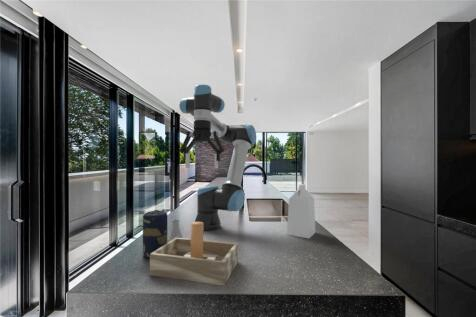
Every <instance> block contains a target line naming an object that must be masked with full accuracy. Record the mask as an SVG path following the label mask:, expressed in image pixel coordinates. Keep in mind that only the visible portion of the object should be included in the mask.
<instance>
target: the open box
mask: <svg viewBox="0 0 476 317" xmlns="http://www.w3.org/2000/svg"><path fill="white" fill-rule="evenodd" d="M238 263H239V243H236V242H235V243H234V242H225V241H216V240H205V239H203V259H202V258H193V257H191V238H187V237H186V238H184V237H183V238H174V239H173V240H171V241H169V242H167V243H166V244H165V245H163V246H162V247H160V248H159V249H157V250H155V251H154V252H152V253H151V254H150V257H149V276H153V277H154V276H155V277H162V278H170V279H175V280H176V279H177V280H183V281H191V282H198V283H204V284H211V285H218V286H219V285H220V286H225V285H226V283H227V281H228V280H229V278H230V276H231V274H232V273H233V271H234V270H235V267H237V264H238Z"/></svg>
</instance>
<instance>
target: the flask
mask: <svg viewBox="0 0 476 317" xmlns="http://www.w3.org/2000/svg"><path fill="white" fill-rule="evenodd" d="M171 222H172V224H171V229H170V231H169V235H168V236H167V243H168V242H169V241H171V240H173V239H174V238H184V237H183V235H182V233H181V229H180V225H179V223H180V219H179V218H178V219H177V218H175V219H172V220H171Z"/></svg>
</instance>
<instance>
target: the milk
mask: <svg viewBox="0 0 476 317" xmlns="http://www.w3.org/2000/svg"><path fill="white" fill-rule="evenodd" d="M287 211H288V213H287V227H286V235H287V234H288V235H287V236H292V235H293V237H298V238H299V237H300V238H302V239H303V238H305V239H311V238H312V237H313V236H314V235H315V234H316V215H315V214H316V211H315V197H314V196H313V195H312V194H311V193H310V192H309V191H308V190H307V189H306V184H305V183H301V184H299V185H298V190H295V191H294V192H293V194H292V195H291V196H290V197H289V199H288V210H287Z"/></svg>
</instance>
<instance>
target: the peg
mask: <svg viewBox="0 0 476 317" xmlns="http://www.w3.org/2000/svg"><path fill="white" fill-rule="evenodd" d="M203 224H204V223H203V222H195V221H193V222H191V223H190V239H191V257H193V258H202V259H203V240H204V230H203Z"/></svg>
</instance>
